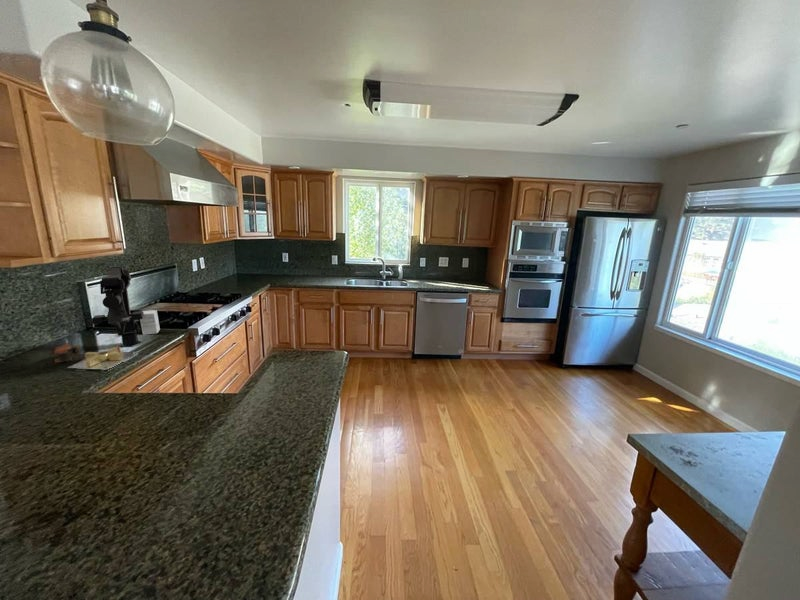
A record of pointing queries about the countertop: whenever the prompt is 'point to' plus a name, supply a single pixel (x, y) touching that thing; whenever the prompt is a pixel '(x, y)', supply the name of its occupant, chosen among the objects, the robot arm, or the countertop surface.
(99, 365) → the flange plate
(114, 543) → the countertop surface
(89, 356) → the brass cross latch
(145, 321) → the supplement box
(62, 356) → the brown clawed figurine
